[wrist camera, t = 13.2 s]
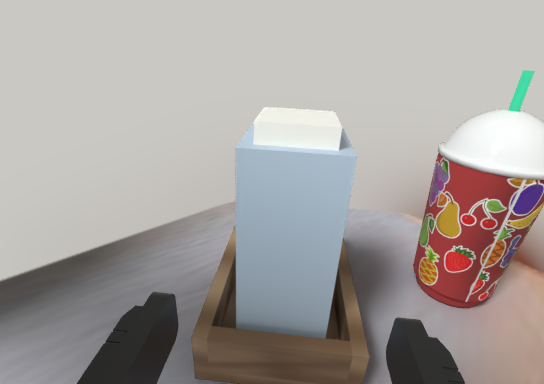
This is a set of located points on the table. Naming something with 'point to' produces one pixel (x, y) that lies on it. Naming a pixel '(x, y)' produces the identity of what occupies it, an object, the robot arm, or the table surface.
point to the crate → (278, 338)
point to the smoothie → (481, 202)
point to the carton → (290, 219)
